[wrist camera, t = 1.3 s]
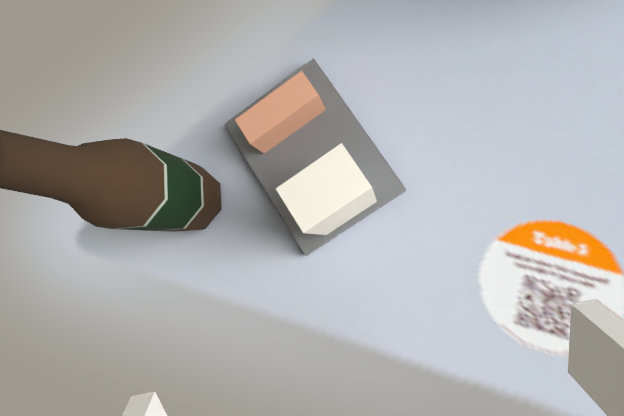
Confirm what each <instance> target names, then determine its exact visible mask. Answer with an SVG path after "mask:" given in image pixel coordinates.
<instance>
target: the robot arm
mask: <svg viewBox="0 0 624 416" xmlns="http://www.w3.org/2000/svg"><path fill="white" fill-rule="evenodd" d="M568 373H569V374H570V375H571V376H572V377H573V378H574V379H575V380H576V382H577V383H578V384H579V385H580V386H581V387H582V388H583V389H584V390H585V392H586V393H587V394H588V395H589V396H590V397H591V398H592V399H593V400H594V401H595V403H596V404H597V405H598V406H599V407H600V408H601V409H602V410H603V411H604V413H605V414H606V415H607V416H624V319H622V318H621V317H620V316H618V315H617V314H616V313H615V312H613V311H612V310H611V309H609V308H608V307H607V306H605V305H604V304H603V303H601V302H600V301H599V300H597V299H594V300H589V301H585V302H580V303H575V304H572V305H571V324H570V342H569V361H568ZM122 416H167V414H166V412H165V410H164V408H163V407H162V405H161V403H160V400H159V398H158V397H157V395H156V393H155V391H154V392H149V393H144V394H140V395H135V396H131V398H130V400H129V402H128V404H127V406H126V408H125V410H124V413H123V415H122Z"/></svg>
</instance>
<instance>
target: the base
mask: <svg viewBox="0 0 624 416" xmlns="http://www.w3.org/2000/svg"><path fill="white" fill-rule="evenodd" d="M300 71H302V72H303V73H304V74H305V76H306V77H307V79H308V80H309V82H310V83H311V85H312V86H313V87H314V89H315V90H316V92H317V93H318V95H319V97H320V99H321V101H322V103H323V105H324V107H325V109H326V110H325V111H323V112H322V113H321V114H319V115H318V116H316V117H315V118H314V119H312V120H311V121H309V122H308V123H306V124H305V125H304V126H302V127H301V128H299V129H298V130H297V131H295V132H294V133H292V134H291V135H290V136H288V137H287V138H285V139H284V140H283V141H281V142H280V143H278V144H277V145H276V146H274V147H273V148H271V149H270V150H269V151H267V152H266V153H262V152H261V151H259V150H258V149H256V148H255V147H254V146H252V145H251V144H250V143H249V142H248V140H247V138H246V137H245V135H244V134H243V132H242V130H241V129H240V127H239V126H238V124H237V122H236V121H235V119H236V118H238V117H239V116H241V115H242V114H243V113H245V112H246V111H247V110H249V109H250V108H251V107H253V106H254V105H256V104H257V103H258V102H260V101H261V100H262V99H264V98H265V97H266V96H268V95H269V94H270V93H272V92H273V91H275V90H276V89H277V88H279V87H280V86H281V85H283V84H284V83H285V82H287V81H288V80H289V79H291V78H292V77H294V76H295V75H296V74H298V73H299V72H300ZM224 125H225V126H226V128H227V129H228V131H229V133H230V134H231V136H232V138H233V139H234V141H235V142H236V144H237V146H238V147H239V149H240V150H241V152H242V154H243V155H244V157H245V159H246V160H247V162H248V163H249V165H250V167H251V168H252V170H253V172H254V173H255V175H256V176H257V178H258V180H259V181H260V183H261V185H262V186H263V188H264V189H265V191H266V193H267V194H268V196H269V197H270V199H271V201H272V202H273V204H274V206H275V207H276V209H277V210H278V212H279V214H280V215H281V217H282V219H283V220H284V222H285V223H286V225H287V227H288V228H289V230H290V231H291V233H292V235H293V236H294V238H295V240H296V241H297V243H298V244H299V246H300V248H301V249H302V251H303V253H304V254H305V255H309V254H310V253H312V252H313V251H315V250H317V249H318V248H320V247H321V246H323V245H324V244H326V243H327V242H329V241H330V240H332V239H333V238H335V237H336V236H338V235H339V234H341V233H342V232H344V231H346V230H347V229H349V228H350V227H352V226H353V225H355V224H356V223H358V222H359V221H361V220H362V219H364V218H365V217H367V216H368V215H370V214H371V213H373V212H374V211H376V210H378V209H379V208H381V207H382V206H384V205H385V204H387V203H388V202H390V201H391V200H393V199H394V198H396V197H397V196H399V195H400V194H402V193H403V192H405V191H406V188H405V187H404V186H403V184H402V183H401V181H400V180H399V178H398V177H397V176H396V174H395V173H394V171H393V170H392V169H391V167H390V166H389V164H388V163H387V161H386V160H385V159H384V157H383V156H382V154H381V153H380V152H379V150H378V149H377V147H376V146H375V144H374V143H373V142H372V140H371V139H370V137H369V136H368V135H367V133H366V132H365V130H364V129H363V127H362V126H361V125H360V123H359V122H358V120H357V119H356V118H355V116H354V115H353V113H352V112H351V110H350V109H349V108H348V106H347V105H346V103H345V102H344V101H343V99H342V98H341V96H340V95H339V93H338V92H337V91H336V89H335V88H334V86H333V85H332V84H331V82H330V81H329V79H328V78H327V76H326V75H325V74H324V72H323V71H322V69H321V68H320V67H319V65H318V64H317V62H316V61H315V59H312V60H311V61H309V62H308V63H307V64H305V65H304V66H303V67H301V68H300V69H299V70H297V71H296V72H295V73H293V74H292V75H290V76H289V77H288V78H286V79H285V80H284V81H282V82H281V83H280V84H278V85H277V86H276V87H274V88H273V89H271V90H270V91H269V92H267V93H266V94H265V95H263V96H262V97H261V98H259V99H258V100H257V101H255V102H254V103H252V104H251V105H250V106H248V107H247V108H246V109H244V110H243V111H242V112H240V113H239V114H238V115H236V116H235V117H233V118H232V119H231V120H229V121H228V122H227V123H225V124H224ZM341 143H342V144H343V146H344V147H345V148H346V150H347V151H348V153H349V154H350V156H351V157H352V159H353V160H354V162H355V163H356V164H357V166H358V167H359V169H360V170H361V172H362V173H363V175H364V176H365V178H366V179H367V181H368V182H369V183H370V185H371V186H372V188H373V191H374V194H375V197H376V200H377V202H376V203H374V204H373V205H371V206H370V207H368V208H367V209H365V210H364V211H362V212H361V213H359V214H358V215H356V216H355V217H353V218H352V219H350V220H349V221H347V222H346V223H344V224H343V225H341V226H340V227H338V228H337V229H335V230H333V231H332V232H330V233H329V234H327V235H319V234H307V233H303V232H302V230H301V229H300V227H299V225H298V224H297V222H296V221H295V219H294V217H293V216H292V214H291V213H290V211H289V209H288V208H287V206H286V205H285V203H284V201H283V200H282V198H281V197H280V195H279V193H278V192H277V190H276V188H277V187H279V186H280V185H282V184H283V183H285V182H286V181H287V180H289V179H290V178H292V177H293V176H295V175H296V174H298V173H299V172H300V171H302V170H303V169H305V168H306V167H308V166H309V165H310V164H312V163H313V162H315V161H316V160H318V159H319V158H321V157H322V156H323V155H325V154H326V153H328V152H329V151H331V150H332V149H334V148H335V147H336V146H338V145H339V144H341Z"/></svg>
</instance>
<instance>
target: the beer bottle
mask: <svg viewBox="0 0 624 416" xmlns="http://www.w3.org/2000/svg"><path fill="white" fill-rule="evenodd" d="M0 188H2V189H8V190H13V191H18V192H23V193H28V194H33V195H39V196H44V197H49V198H53V199H56V200H59V201H62V202H65V203H68V204H69V205H70V206H71V207H72V208H73V209H74V210H75V211H76V212H77V213H78V214H79V215H80V217H81V218H82V219H84V220H86V221H87V222H89V223H91V224H93V225H94V226H97V227H103V228H110V229H128V230H151V231H187V230H199V229H205V228H206V227H207V226H208V225H209V223H210V222H211V221H212V220H213V219H214V217H215V216H216V215H217V214H218V212H219V211H220V210H221V192H220V183H219V182H218V181H217V180H215V179H214V178H213V177H212V176H211V175H210V174H209V173H208V172H207V171H206V170H205V169H203V168H202V167H200V166H198V165H196V164H194V163H192V162H189V161H187V160H184V159H182V158H179V157H177V156H174V155H171V154H169V153H166V152H164V151H161V150H159V149H156V148H154V147H151V146H149V145H146V144H144V143H141V142H137V141H133V140H130V139H112V140H104V141H97V142H91V143H84V144H81V145H79V146H70V145H65V144H60V143H56V142H52V141H47V140H43V139H38V138H34V137H29V136H25V135H20V134H16V133H11V132H7V131H2V130H0Z"/></svg>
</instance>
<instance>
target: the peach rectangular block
mask: <svg viewBox="0 0 624 416" xmlns="http://www.w3.org/2000/svg"><path fill="white" fill-rule="evenodd" d="M325 110H326V109H325V107H324V105H323V103H322V101H321V99H320V97H319V95H318V93H317V92H316V90H315V89H314V87H313V86H312V85H311V83H310V82H309V80H308V79H307V77H306V76H305V74H304V73H303V72H302V71H300V72H299V73H298V74H296V75H295V76H294V77H292V78H291V79H289V80H288V81H287V82H285V83H284V84H283V85H281V86H280V87H279V88H277V89H276V90H275V91H273V92H272V93H270V94H269V95H268V96H266V97H265V98H264V99H262V100H261V101H260V102H258V103H257V104H256V105H254V106H253V107H251V108H250V109H249V110H247V111H246V112H245V113H243V114H242V115H241V116H239V117H238V118H236V119H235V121H236V122H237V124H238V126H239V127H240V129H241V130H242V132H243V134H244V135H245V137H246V138H247V140H248V142H249V143H250V144H251V145H252V146H254V147H255V148H256V149H258V150H259V151H261V152H262V153H266V152H267V151H269V150H270V149H271V148H273V147H274V146H276V145H277V144H278V143H280V142H281V141H283V140H284V139H285V138H287V137H288V136H290V135H291V134H292V133H294V132H295V131H297V130H298V129H299V128H301V127H302V126H304V125H305V124H306V123H308V122H309V121H311V120H312V119H314V118H315V117H316V116H318V115H319V114H321V113H322V112H323V111H325Z"/></svg>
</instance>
